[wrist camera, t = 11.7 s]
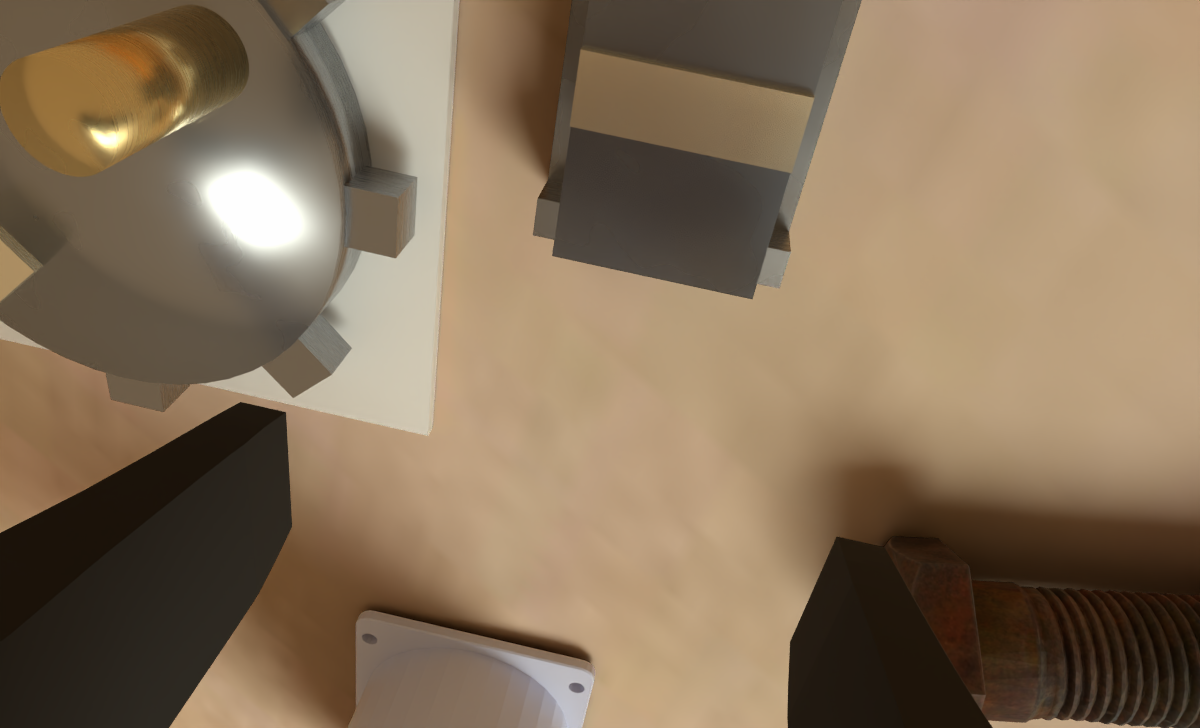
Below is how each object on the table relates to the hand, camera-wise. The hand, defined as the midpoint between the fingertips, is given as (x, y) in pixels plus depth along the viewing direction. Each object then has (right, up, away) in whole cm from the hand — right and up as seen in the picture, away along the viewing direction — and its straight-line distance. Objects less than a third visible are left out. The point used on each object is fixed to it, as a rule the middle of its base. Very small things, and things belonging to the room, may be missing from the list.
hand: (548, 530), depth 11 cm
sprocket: (-10, +8, +9) cm, 15 cm away
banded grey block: (+3, +8, +4) cm, 9 cm away
